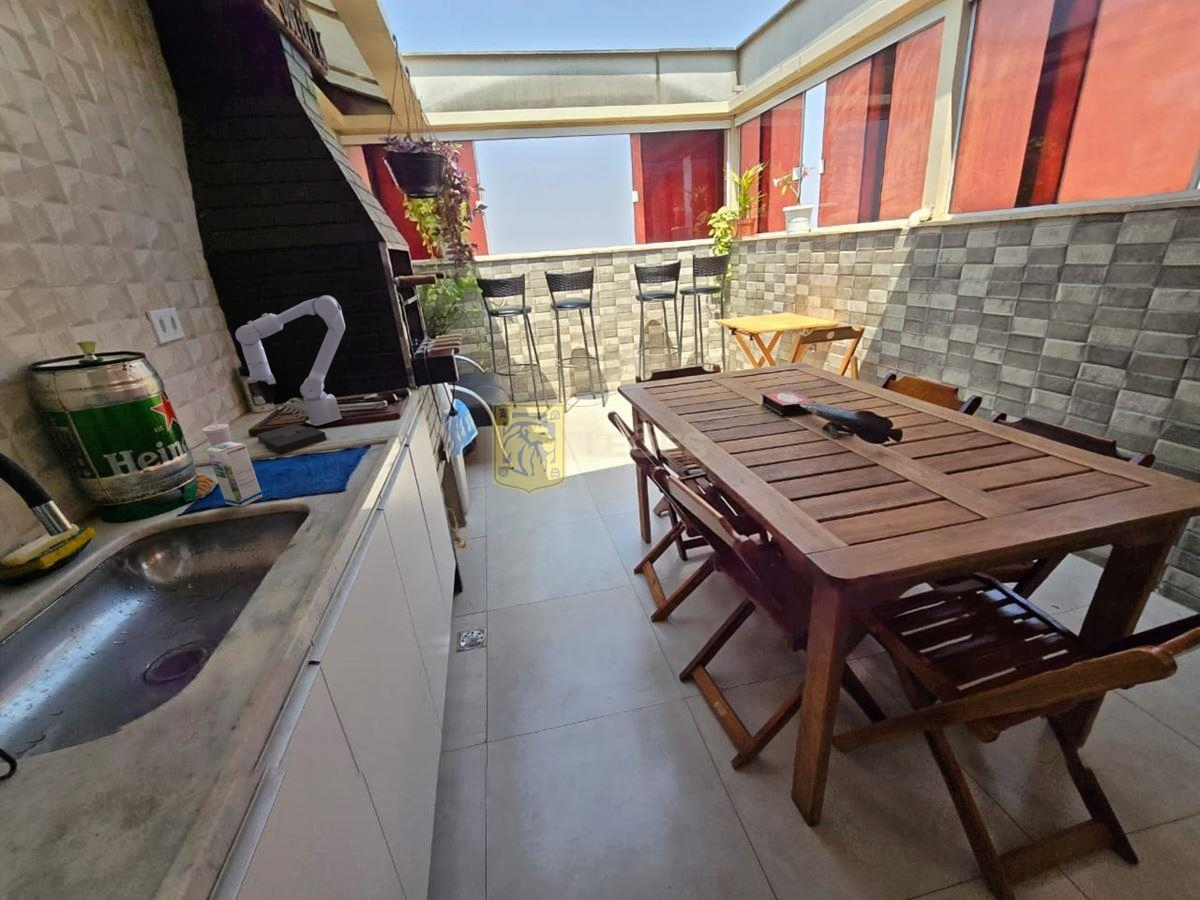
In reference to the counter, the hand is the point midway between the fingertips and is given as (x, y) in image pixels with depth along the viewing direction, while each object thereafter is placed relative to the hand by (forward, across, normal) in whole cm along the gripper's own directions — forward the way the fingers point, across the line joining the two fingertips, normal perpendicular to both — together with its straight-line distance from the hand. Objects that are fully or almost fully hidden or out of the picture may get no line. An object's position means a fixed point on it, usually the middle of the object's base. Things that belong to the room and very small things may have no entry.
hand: (270, 402), depth 166 cm
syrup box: (+10, +52, -29) cm, 60 cm away
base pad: (+9, +22, -4) cm, 24 cm away
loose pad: (+9, +15, -4) cm, 18 cm away
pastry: (+10, +37, -34) cm, 51 cm away
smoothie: (+10, +15, -20) cm, 27 cm away
